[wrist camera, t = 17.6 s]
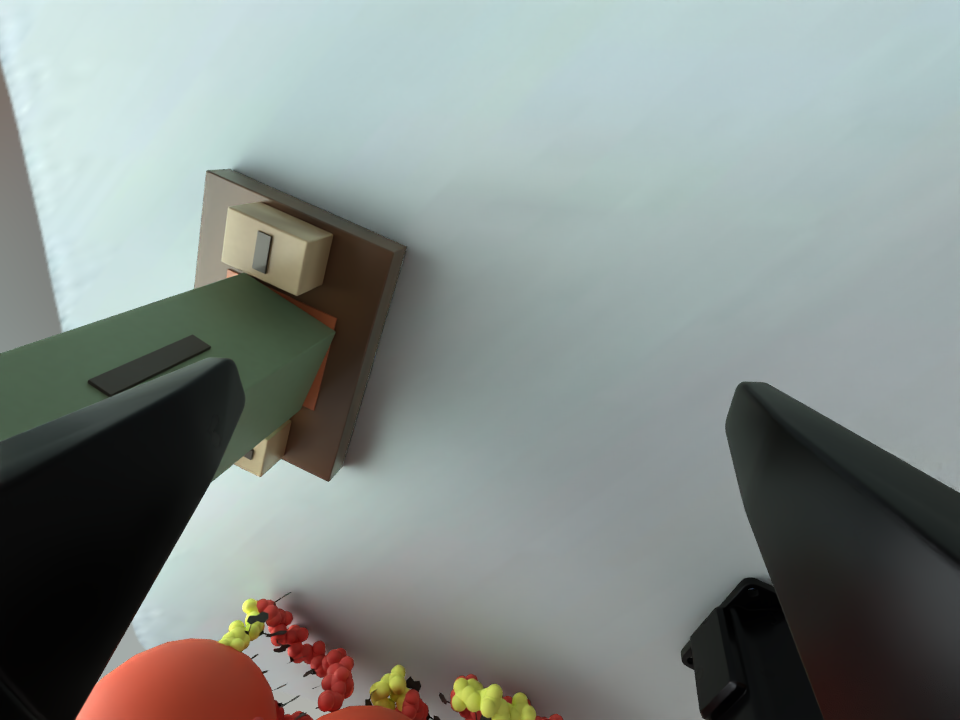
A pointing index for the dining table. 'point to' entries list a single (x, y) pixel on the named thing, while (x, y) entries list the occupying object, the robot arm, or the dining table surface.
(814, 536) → the robot arm
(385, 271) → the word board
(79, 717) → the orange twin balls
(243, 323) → the green tall block
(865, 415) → the dining table surface
